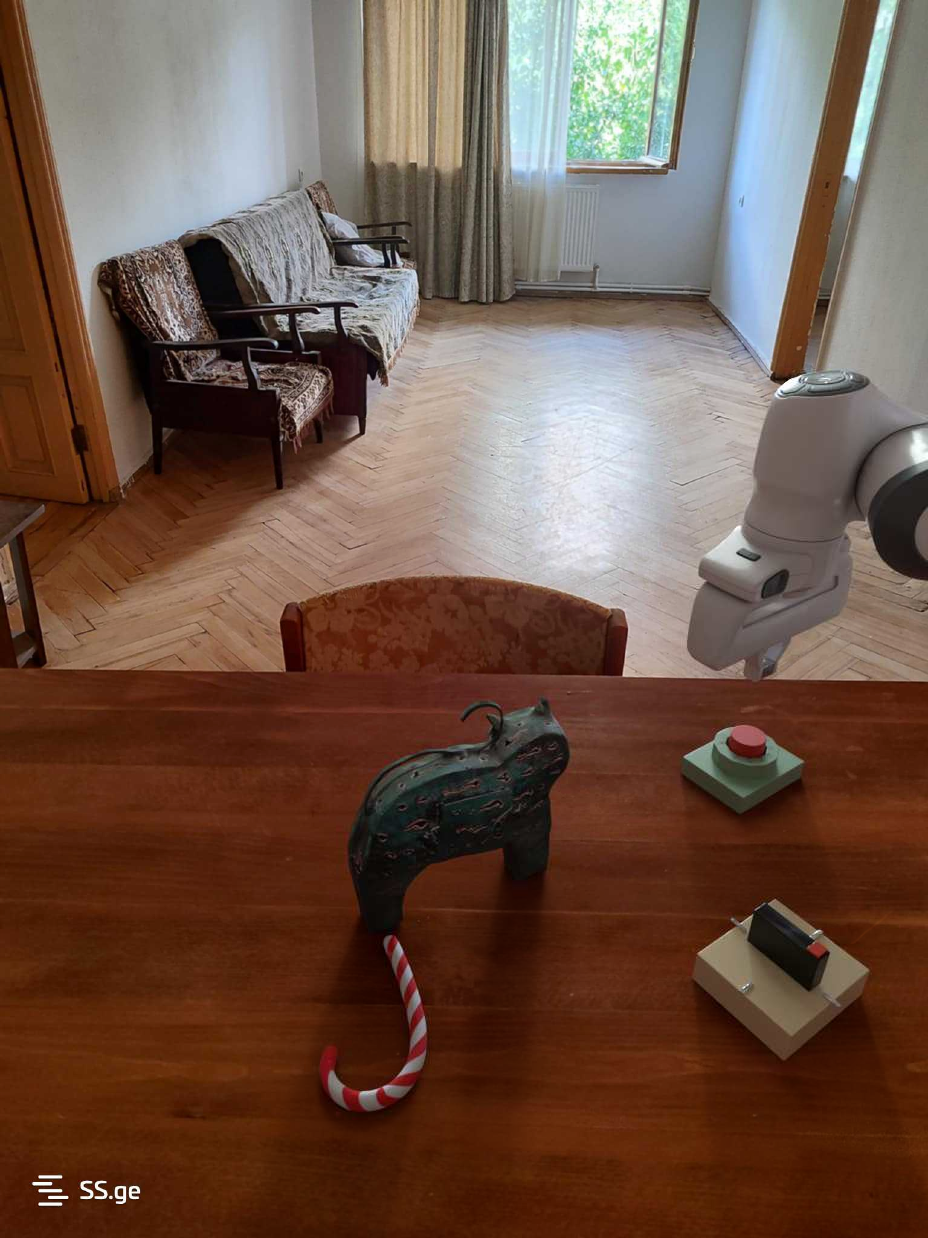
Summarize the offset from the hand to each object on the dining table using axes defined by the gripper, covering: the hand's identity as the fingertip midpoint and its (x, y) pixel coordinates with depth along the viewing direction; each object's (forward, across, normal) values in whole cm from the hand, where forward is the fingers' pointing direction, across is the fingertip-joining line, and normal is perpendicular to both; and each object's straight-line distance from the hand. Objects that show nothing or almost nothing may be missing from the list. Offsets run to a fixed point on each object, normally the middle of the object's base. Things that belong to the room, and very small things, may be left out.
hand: (758, 675), depth 88 cm
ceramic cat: (+13, +34, -4) cm, 36 cm away
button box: (+13, 0, 0) cm, 13 cm away
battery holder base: (+13, +19, +19) cm, 30 cm away
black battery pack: (+10, +19, +19) cm, 29 cm away
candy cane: (+13, +47, +3) cm, 49 cm away
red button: (+9, 0, 0) cm, 9 cm away
